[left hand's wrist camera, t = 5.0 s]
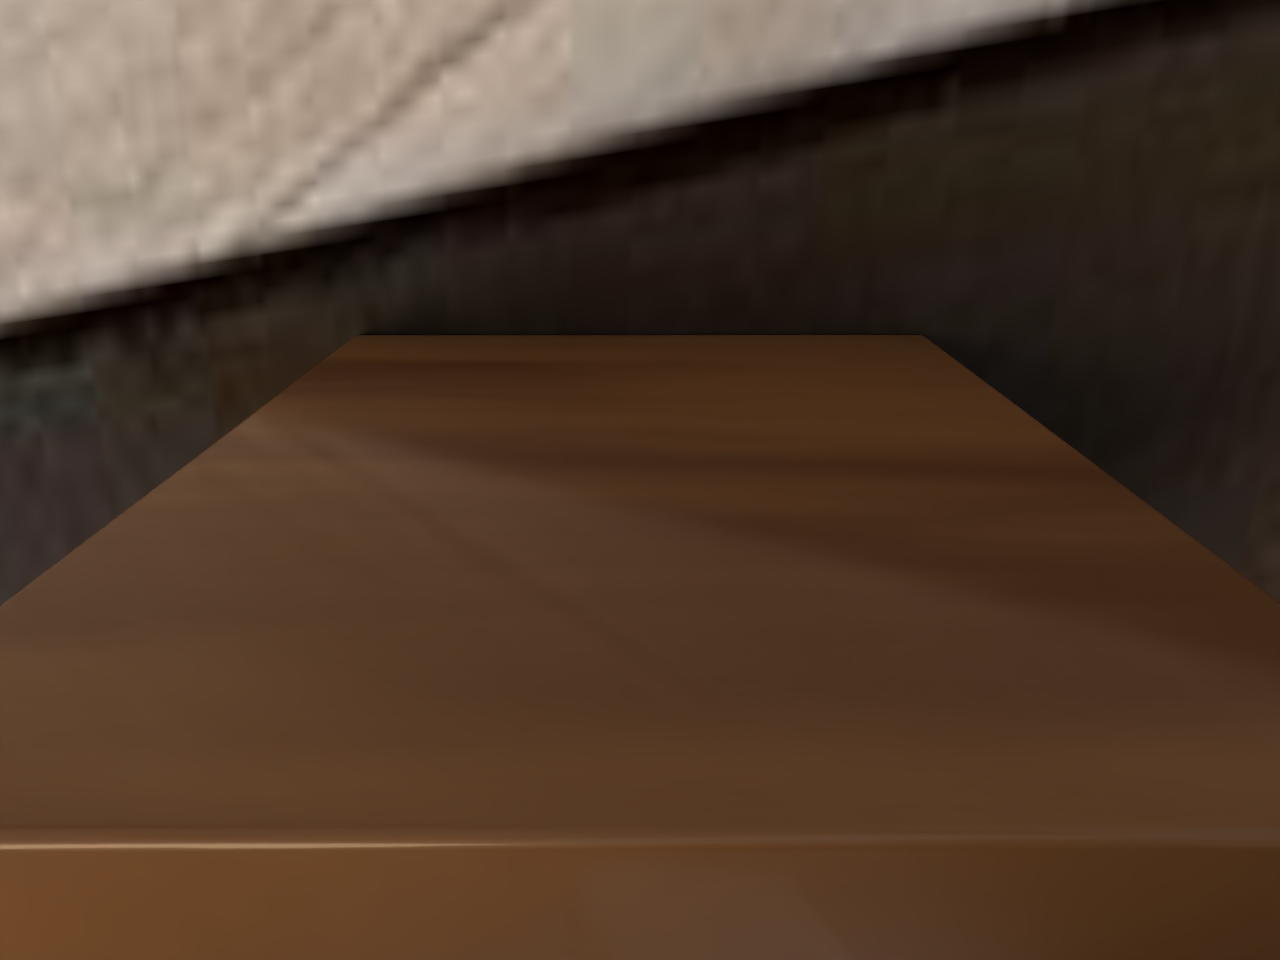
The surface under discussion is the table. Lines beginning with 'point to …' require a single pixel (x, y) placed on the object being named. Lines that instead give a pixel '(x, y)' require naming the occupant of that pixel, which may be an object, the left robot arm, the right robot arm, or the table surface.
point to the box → (640, 677)
